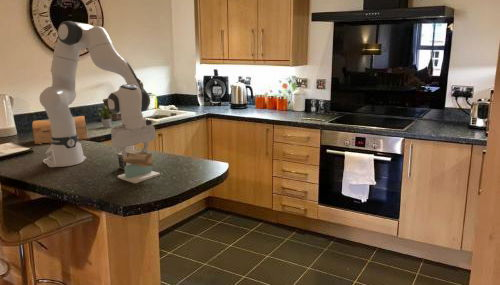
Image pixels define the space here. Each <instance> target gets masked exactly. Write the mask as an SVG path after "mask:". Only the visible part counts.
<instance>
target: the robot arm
mask: <svg viewBox="0 0 500 285" xmlns="http://www.w3.org/2000/svg"><path fill="white" fill-rule="evenodd" d="M58 25H59V26H58V28H57V41H56V43H55V47H54V51H53V55H52V60H51V67H50V72H51V77H52V78H51V79H52V83H51V86H48V87H46V88H44V89H43V91H42V92H40V95H39V103H40V105H41V106H42V107H43V108H44V110H45V112H46V115H47V117H48V118H47V119H49V121H50V126H51V132H52V137H51V143H50V144H51V145H50V146H49V147H48V148H47V150H46V152H45V153H44V154H45V157H46V158H43V160H42V162H43V163H44V164H45V165H46V164H47V165H46V166H47V167H49V168H59V167H63V168H64V167H71V166H75V165H79V164H81V163H83V162H84V161H85V160H86V159H87V156H85V155H84V151H83V146H82V144H81V143H80V142H79V140H78V135H77V134H76V128H75V121H74V118H73V117H74V116H73V115H72V113H71V109H70V107H69V106H70V105H71V104H72V103H73V102H74V101H75V100H76V98H77V92H76V77H77V76H76V75H77V69H78V65H79V60H80V53H81V51H82V50H83V49H86V50H87V51H88V53H89V56H90V58H91V61H92V63H93V64H94V65H95V66H96V67H97V68H98V69H101V70H103V71H107V72H111V73H114V74H117V75H119V76H121V77H122V78H123V79H124V81H125V83H126V84H122V85H120V86H119V88H118V89H117V90H116V91H114V92H111V93H110V94H109V95H108V97H107V98H106V99H107V105H108V109H109V110H110V111H111V112H113V113H114V114H121V125H115V126H113V128H111V130H110V134H111V147H112V148H113V149H117V150H119V149H120V151H122V152H123V156H124V157H128V156H129V155H128V154H129V153H127V152H126V151H125V150H126V147H128V146H132V145H134V146H135V145H136V146H137V145H140V144H143V147H141V152H145V153H148V147H149V144H150V142H152V141H155V140H156V137H157V135H156V128H155V126H154V120H153V119H150V118H145V117H144V116H143V115H144V114H143V113H142V112H145V111H146V110H147V109H148V108H149V107H150V104H151V98H150V95H149V93H148V92H147V91H146V89H145V88H144V87H143V85H142V83H141V82H140V80H139V78H138V77H137V74H136V73H135V71H134V69H133V68H132V65H130V63H129V61H128V60H127V59H126V58H124V57H123V56H122V55H120V53H119V52H118V51H117V49H116V48H115V45H114V43H113V40H112V38H111V36H110V34H109V33H108V32H107V30H106V29H105V28H104V27H102V26H98V25H97V26H96V25H95V26H94V25H91V24H88V23H85V22H77V21H73V20H66V21H62V22H61V23H60V24H58ZM122 152H121V153H122Z"/></svg>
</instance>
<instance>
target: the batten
mask: <svg viewBox="0 0 500 285" xmlns="http://www.w3.org/2000/svg"><path fill="white" fill-rule="evenodd" d="M125 151H126V152H127V153H129V154H128V155H129V156H128V157H124V156H123V162H126V163H130V164H133V165H137V166H141V167H148V166H151V167H152V166H153V154H152V153H150V152H142V150H141V151H140V150H136V149H134V150H132V149H128V150H125ZM121 153H122V155H123V152H121Z"/></svg>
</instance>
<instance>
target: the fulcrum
mask: <svg viewBox="0 0 500 285" xmlns="http://www.w3.org/2000/svg"><path fill="white" fill-rule="evenodd" d="M124 169H125V170H124ZM124 169H123V170H124V173H122V174H119V175H117V179H121V180H123V181H126V182H129V183H132V184H138V183H140V182H144V181H147V180H150V179H153V178H156V177H159V176H161V173H160V172H157V171H153V169H152V166H148V167H141V166H137V165H133V164H131V165H128V166H124Z"/></svg>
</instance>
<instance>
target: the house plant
mask: <svg viewBox="0 0 500 285" xmlns="http://www.w3.org/2000/svg"><path fill="white" fill-rule="evenodd" d="M97 110H98V111H99V113H97V114H99V115H98V117H102V118H101V123H102V127H103V129H109V128H112V121H111V120H112V118H109V117H108V116H110V113H111V111H110V110H109V111H110V112H109V111H108V112H107V110H108V107H107V108H106V107H105V105H104V104H103V108H102V107H99V108H97ZM112 114H113V113H111V115H112Z"/></svg>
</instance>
